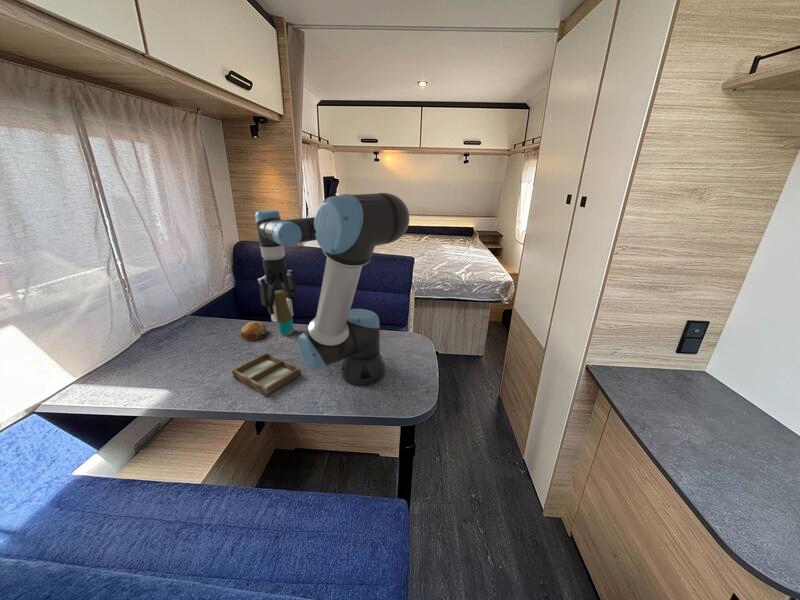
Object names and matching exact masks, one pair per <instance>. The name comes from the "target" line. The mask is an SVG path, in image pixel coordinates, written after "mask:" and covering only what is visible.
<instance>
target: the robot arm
mask: <svg viewBox="0 0 800 600" xmlns="http://www.w3.org/2000/svg"><path fill="white" fill-rule="evenodd" d="M409 212H410V211H409V209H408V206H407V205H406V204H405V202H404V201H403V200H402V199H401V198H400V197H398V196H397V195H395V194H392V193H388V192H378V193H364V194H362V193H361V194H359V193H358V194H349V193H343V194H340V195H332V196H329V197H327V198H325V199H324V200H323V201H321V203H320V204H319V206H318V208H317V210H316V212H315V216H313V217H312V216H311V217H301V218H291V219H289V218H288V219H282V218H281V215H280V213H279V211H278V210H274V209H272V210H271V209H269V210H267V209H266V210H264V209H263V210H257V211H256V212H255V215H254V216H255V225H256V230H257V236H258V242H259V248H260V253H261V255H260V256H261V257H262V267H263V271H264V274H263V276H262V277H257V279H256V280H257V283H258V285H259V296H260V304H261V305H263V306H264V307H267V312H268V314H269V315H270V318H271V322H274V323H277V324H278V318H277V311H276V305H274V295H275V291H276V288H277V286H278V284H280V286H281V288H282V290H283V291H285V292H286V293H287V299H286V301H287V304H288V308H289V311H290V315H291V316H292V317H293V316H294V310H293V307H294V300H295V298H296V297H297V295H298V292H297V286H296V285H297V284H296V280H295V270H294V269H287V259H286V257H285V256H286V251H285V247H289V248H292V247H295V246H297V245H298V244H301V243H307V242H313V241H317V244H318V246H319V248H321V250H322V252H323V254H324V256H326V261H325V267H324V272H323V277H322V282H321V283H322V284H321V287H320V288H321V289H320V293H319V300H318V302H317V303H318V304H317V310H316V311H317V312H316V314H315V317H314V318H313V319H311V321H310V322H309V325H308V328H307V332H302V333H301V334H299V335H298V337H297V344H298V349H299V352H300V354H301V355H302V358H303V359H304V361H305V363H306V364H307V366H309V368H310V369H313V370H315V371H317V370H318V371H319V370H321V369H325V368H327V367H329V366H332V365H333V364H335V363H337V362H339V361H342V360H343V362H342V365H341V377H342V380H344V381H345V382H346V383H347V384H350V385H352V386H357V387H363V386H365V387H367V386H371V385H374V384H377V383H378V382H380V381H381V380H382V379H383V378H384V377H385V374H386V365H385V362H384V361H383V358H382V357H383V356H382V355H381V352H380V351H381V346H380V341H381V340H380V336H381V335H380V334H381V333H380V329H381V328H380V327H381V325H380V318H379V316H378V314H377V313H376V312H374V311H373V310H368V309H366V308H365V309H364V308H352V304H353V302H354V297H355V293H356V291H357V286H358V283H359V280H360V276H361V272H362V269H363V266H365V265H367V264H369V263H370V261H371V260H372V257H373V254H374V250H375V247H377V246H382V245H387V244H391V243H395V242H396V241H398V240H399V239H400V238H402V237H403V236H404V235H405V234H406V232H407V230H408V228H409V224H410V213H409Z"/></svg>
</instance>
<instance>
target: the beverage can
mask: <svg viewBox="0 0 800 600" xmlns="http://www.w3.org/2000/svg"><path fill="white" fill-rule="evenodd" d="M293 320H294V319H293V316H291V320H289V321H287V322H283V323H278V329H279V330H278V331H279V332H280V333H281V335H282V336H284V337H285V336H290V335H292V334H293V332H294V321H293Z"/></svg>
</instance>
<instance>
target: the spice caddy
mask: <svg viewBox="0 0 800 600" xmlns="http://www.w3.org/2000/svg"><path fill="white" fill-rule="evenodd" d="M231 373H232V376H233V378H234V379H235V380H237V381H238V382H240V383H242V384H244V386H247V387H249V388H250V389H252V390H253V391H256V392H258V393H259V395H260V394H261V395H262V396H264V398H269V397H270V396H271V395H273V394H274V393H276V392H278V391H279V390H281V389H283V388H284V387H286V386H287V385H289V384H291V383H292V382H293V381H296V380H297V379H298V378H300V377H301V376H302V370H301V367H300V366H297V365H295V364H294V363H293V364H292V363H290V362H288V361H287V360H284V359H282V358H280V357H279V356H276V355H274V354H272V353H269V352H268V351H267V352H265V353H263V354H260V355H258V356H257V357H255V358H253V359H251V360H248V361H246V362H244V363H242V364H241V365H239V366H237V367H234V368H233V369H231Z"/></svg>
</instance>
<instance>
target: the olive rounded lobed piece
mask: <svg viewBox="0 0 800 600" xmlns="http://www.w3.org/2000/svg"><path fill="white" fill-rule="evenodd" d="M286 299H287V293H286V292H285V291H284V290H283V289H282V290H281V289H279V290H275V295H274V303H273V305H276V311H277V318H278V322H277V324H279V323H283V322H287V321H289V320H291V315H290V311H289V308H288V304H287V301H286Z"/></svg>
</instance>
